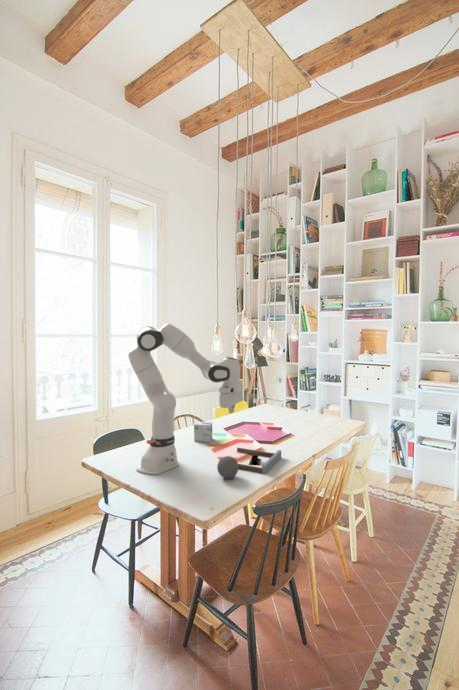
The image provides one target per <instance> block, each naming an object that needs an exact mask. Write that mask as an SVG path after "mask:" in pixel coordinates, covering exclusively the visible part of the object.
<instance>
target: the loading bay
mask: <svg viewBox="0 0 459 690" xmlns="http://www.w3.org/2000/svg"><path fill="white" fill-rule="evenodd" d="M236 452H237V453H242V454H247V455H252V454H253V453H258V457H259V456H260V457H266V458H268V460H266V461H265V463H263V464H262V466H261V467H258V466H255V465H249V464H241V463H238V466H239V468H238V470H243V471H248V472H253V473H259V474H263V475H267V473H269V471H270V470H271V469H273V467H274V466H275V465H276V464H277V463H278V462H279V461H280V459H282V450H280V449H279V450H277V451H276V452H270V451H269V452H268V451H261V450H256V449H250V448H243V447H237V449H236Z"/></svg>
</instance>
